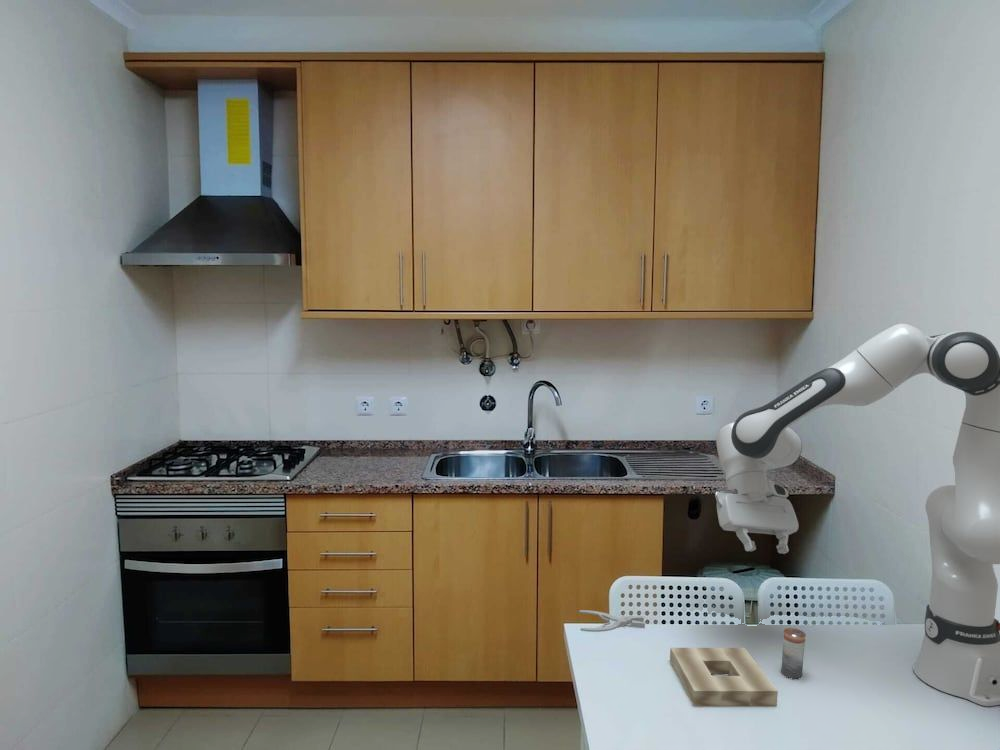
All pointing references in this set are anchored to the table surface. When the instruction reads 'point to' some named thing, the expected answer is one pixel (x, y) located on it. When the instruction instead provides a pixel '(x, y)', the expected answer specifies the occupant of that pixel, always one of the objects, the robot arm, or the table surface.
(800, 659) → the steel peg
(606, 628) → the pliers
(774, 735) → the table surface
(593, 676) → the table surface
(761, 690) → the wooden flat square block
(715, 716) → the table surface
